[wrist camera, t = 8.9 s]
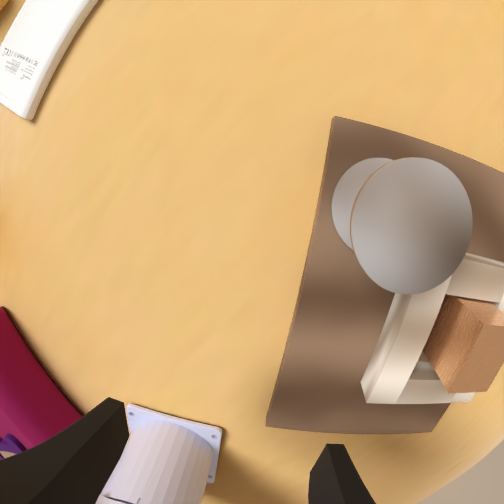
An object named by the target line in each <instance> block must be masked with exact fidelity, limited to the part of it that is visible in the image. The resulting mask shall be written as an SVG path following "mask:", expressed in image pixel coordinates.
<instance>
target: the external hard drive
mask: <svg viewBox="0 0 504 504" xmlns="http://www.w3.org/2000/svg"><path fill="white" fill-rule="evenodd" d="M98 1H99V0H26V2H25V3H24V5H23V7H22V8H21V10H20V12H19V13H18V15H17V17H16V18H15V20H14V22H13V24H12V25H11V27H10V29H9V31H8V33H7V35H6V37H5V39H4V41H3V43H2V45H1V47H0V103H1V104H3V105H4V106H6V107H7V108H8V109H10V110H11V111H13V112H14V113H16V114H17V115H19V116H20V117H22V118H24V119H31V120H32V119H33V117H34V115H35V113H36V110H37V108H38V105H39V103H40V101H41V99H42V97H43V94H44V92H45V90H46V88H47V86H48V84H49V82H50V80H51V78H52V76H53V74H54V72H55V70H56V68H57V66H58V64H59V63H60V61H61V59H62V57H63V55H64V53H65V52H66V50H67V48H68V46H69V45H70V43H71V41H72V40H73V38H74V36H75V35H76V33H77V32H78V30H79V28H80V27H81V25H82V24H83V22H84V21H85V19H86V18H87V16H88V15H89V13H90V12H91V10H92V9H93V8H94V6H95V5H96V3H97V2H98Z"/></svg>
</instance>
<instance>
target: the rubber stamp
mask: <svg viewBox="0 0 504 504" xmlns="http://www.w3.org/2000/svg"><path fill="white" fill-rule="evenodd" d="M8 2H9V0H0V11H1V10H2V8H3V7H4V6H5V5H6V4H7V3H8Z"/></svg>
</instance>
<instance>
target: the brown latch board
mask: <svg viewBox="0 0 504 504" xmlns="http://www.w3.org/2000/svg"><path fill="white" fill-rule="evenodd" d="M445 294H447V295H453V296H460V297H466V298H472V299H478V300H485V301H490V302H491V303H493V304H494V305H495V306H496V307H497V308H499V309H500V310H501V311H502V312H503V313H504V173H502V172H500V171H498V170H496V169H494V168H492V167H489V166H487V165H485V164H483V163H480V162H478V161H476V160H473V159H471V158H468V157H466V156H464V155H461V154H459V153H456V152H453V151H451V150H448V149H446V148H443V147H440V146H437V145H435V144H432V143H429V142H426V141H423V140H420V139H417V138H414V137H411V136H408V135H405V134H401V133H398V132H395V131H391V130H388V129H384V128H381V127H377V126H374V125H370V124H366V123H362V122H358V121H354V120H350V119H346V118H342V117H337V116H335V117H334V118H332V122H331V129H330V135H329V142H328V148H327V154H326V160H325V165H324V171H323V177H322V182H321V188H320V193H319V198H318V204H317V209H316V214H315V219H314V224H313V229H312V234H311V239H310V244H309V248H308V253H307V258H306V262H305V267H304V272H303V276H302V280H301V285H300V289H299V294H298V298H297V302H296V306H295V311H294V315H293V319H292V323H291V327H290V331H289V335H288V339H287V343H286V347H285V351H284V355H283V358H282V362H281V366H280V370H279V373H278V377H277V381H276V384H275V388H274V392H273V395H272V399H271V402H270V406H269V409H268V413H267V416H266V426H268V427H275V428H283V429H292V430H301V431H312V432H325V433H344V434H404V433H422V432H431V431H432V430H433V429H434V427H435V426H436V424H437V423H438V421H439V420H440V419H441V417H442V416H443V414H444V413H445V411H446V410H447V408H448V406H449V405H450V403H455V402H469V401H470V400H471V399H472V397H473V396H474V394H475V392H470V393H449V394H448V392H447V390H446V389H445V387H444V385H443V383H442V382H441V380H440V378H439V377H438V375H437V373H436V372H435V370H434V368H433V367H432V365H431V363H430V362H429V360H428V359H427V357H426V355H425V354H424V352H423V348H424V346H425V344H426V342H427V339H428V337H429V335H430V332H431V330H432V328H433V325H434V323H435V320H436V318H437V315H438V313H439V310H440V308H441V305H442V302H443V299H444V297H445Z"/></svg>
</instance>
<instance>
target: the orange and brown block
mask: <svg viewBox="0 0 504 504" xmlns="http://www.w3.org/2000/svg"><path fill="white" fill-rule="evenodd" d="M423 352H424V354H425V355H426V357H427V359H428V360H429V362H430V363H431V365H432V367H433V368H434V370H435V372H436V373H437V375H438V377H439V378H440V380H441V382H442V383H443V385H444V387H445V389H446V390H447V392H448V394H449V393H470V392H485V391H487V390H488V388H489V387H490V385H491V383H492V382H493V380H494V378H495V376H496V375H497V373H498V371H499V369H500V367H501V366H502V364H503V362H504V313H503V312H502V311H501V310H500V309H499V308H497V307H496V306H495V305H494V304H493V303H491V302H490V301H485V300H478V299H472V298H466V297H460V296H453V295H447V294H445V297H444V299H443V302H442V305H441V308H440V310H439V313H438V315H437V318H436V320H435V323H434V325H433V328H432V330H431V332H430V335H429V337H428V339H427V342H426V344H425V346H424V348H423Z"/></svg>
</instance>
